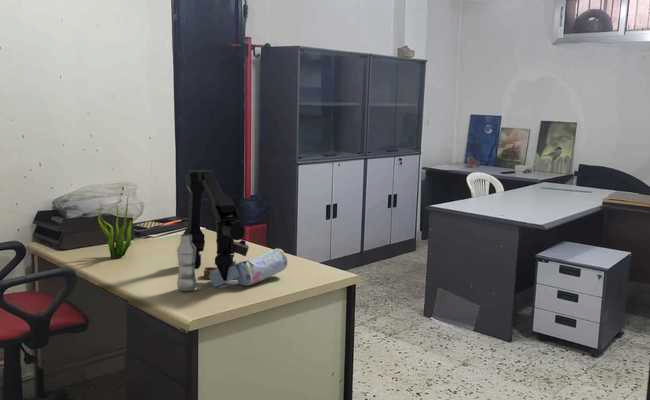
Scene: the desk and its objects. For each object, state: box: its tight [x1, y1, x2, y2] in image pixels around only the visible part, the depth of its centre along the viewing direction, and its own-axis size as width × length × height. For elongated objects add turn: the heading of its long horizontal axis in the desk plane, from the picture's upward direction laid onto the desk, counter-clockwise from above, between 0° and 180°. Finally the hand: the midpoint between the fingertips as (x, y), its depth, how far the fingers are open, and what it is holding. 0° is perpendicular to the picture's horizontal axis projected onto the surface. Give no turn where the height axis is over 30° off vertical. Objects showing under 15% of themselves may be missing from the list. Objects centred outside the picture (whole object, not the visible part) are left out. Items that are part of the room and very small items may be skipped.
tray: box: [203, 266, 237, 280], centre depth 231 cm, size 16×5×3 cm, turn 96°
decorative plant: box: [97, 190, 143, 259], centre depth 255 cm, size 18×30×15 cm
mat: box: [206, 280, 242, 289], centre depth 221 cm, size 12×8×1 cm, turn 96°
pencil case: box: [236, 248, 288, 287], centre depth 225 cm, size 21×9×10 cm, turn 139°
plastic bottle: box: [176, 233, 197, 292], centre depth 212 cm, size 6×7×20 cm
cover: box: [209, 260, 240, 287], centre depth 220 cm, size 10×7×4 cm
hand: (225, 277), depth 220 cm, fingers closed on cover, 7 cm apart
